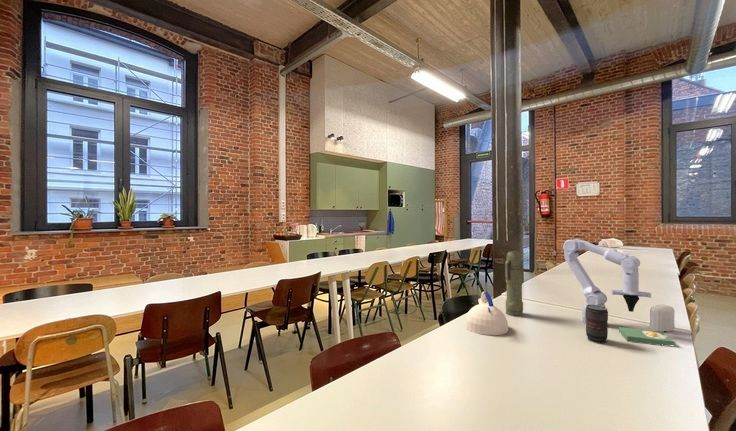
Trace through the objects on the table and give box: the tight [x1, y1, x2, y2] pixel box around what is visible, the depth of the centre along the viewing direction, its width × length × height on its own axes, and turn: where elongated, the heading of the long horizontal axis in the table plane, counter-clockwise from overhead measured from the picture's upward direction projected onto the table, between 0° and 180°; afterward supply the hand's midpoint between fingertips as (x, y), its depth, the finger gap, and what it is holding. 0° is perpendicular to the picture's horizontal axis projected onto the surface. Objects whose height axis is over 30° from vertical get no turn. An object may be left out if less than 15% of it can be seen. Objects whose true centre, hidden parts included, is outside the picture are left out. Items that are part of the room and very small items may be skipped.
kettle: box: [464, 291, 509, 336], centre depth 161 cm, size 20×21×18 cm
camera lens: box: [585, 304, 609, 344], centre depth 143 cm, size 8×8×15 cm
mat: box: [618, 326, 676, 346], centre depth 144 cm, size 16×12×2 cm
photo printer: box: [649, 303, 675, 333], centre depth 154 cm, size 10×4×12 cm, turn 98°
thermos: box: [504, 250, 524, 317], centre depth 181 cm, size 9×12×35 cm
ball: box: [647, 332, 658, 337], centre depth 143 cm, size 4×4×4 cm
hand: (630, 311), depth 152 cm, fingers closed
